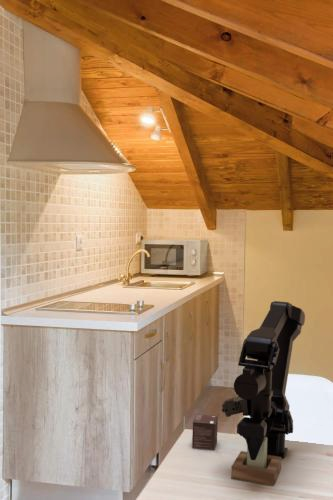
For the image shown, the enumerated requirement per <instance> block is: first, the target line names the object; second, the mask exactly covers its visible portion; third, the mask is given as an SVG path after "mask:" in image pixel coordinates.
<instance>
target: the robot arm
mask: <svg viewBox="0 0 333 500" xmlns="http://www.w3.org/2000/svg"><path fill="white" fill-rule="evenodd" d="M305 319H306V314H305V312H304V310H303V309H302V308H300V307H297V306H295V305H293V304H292V303H290V302H289V301H278V300H277V301H276V300H274V301H271V302H270V306H269V311H267V314H266V316H265V317H264V319H263V321H262V322H261V325H260V327H259V328H256V329H253V330H251V331H250V333H249V334H248V335H247V337H246V338H244V340H243V344H242V346H241V351H240V356H239V359H238V363H237V364H238V367H243V368H242V373H240V374H239V375H237V376H236V378H235V380H234V382H233V389H234V392H235V394H236V395H237V396H234V397H231V398H226V399H225V400H223V402H222V403H221V406H222V409H221V412H222V413H224V414H225V417H226V418H228V417H231V416H234V415H238V414H242V416H244V417H243V418H242V419H240V420H239V422H238V423H237V424H236V434H238V435H239V436H241V437H242V438H244V440H245V442H246V445H247V446H248V450H249V455H250V459H251V460H256V457H257V455H258V453H259V450H260V448H261V446H262V443H263V441H264V439H265V437H267V455H271V456H277V457H281V459H285V458H286V455H287V453H288V447H286V435H289V434H293V433H294V420H293V417H292V412H291V411H290V403H289V401H288V399H287V395H286V390H287V385H288V384H287V383H288V377H289V373H290V372H289V371H290V365H291V357H292V351H293V344H294V341H295V340H296V339H297V338H298V336H299V335H301V333H302V327H303V326H304V325H305V321H306V320H305Z"/></svg>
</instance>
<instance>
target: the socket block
mask: <svg viewBox="0 0 333 500" xmlns="http://www.w3.org/2000/svg"><path fill="white" fill-rule="evenodd" d="M281 470H282V458H281V457H277V456H271V455H267V466H266V468H261V467H254V466H248V465H247V451H244V450H240V452H239V454H238V455H237V456H236V458H235V460H234V462H233V463H232V465H231V471H230V473H231V474H230V479H231V480H237V481H242V482H246V483H247V482H248V483H252V484H260V485H266V486H271V487H274V486H275V485H276V481H277V480H278V477H279V475H280V472H281Z"/></svg>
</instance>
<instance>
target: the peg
mask: <svg viewBox="0 0 333 500" xmlns="http://www.w3.org/2000/svg"><path fill="white" fill-rule="evenodd" d="M246 450H247V451H246V452H247V465H248V466H254V467H261V468H266V466H267V437H265V439H264V441H263V443H262V446H261V448H260V450H259V453H258V455H257V457H256V460H251V459H250V455H249V450H248V446H247V447H246Z"/></svg>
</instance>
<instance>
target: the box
mask: <svg viewBox="0 0 333 500" xmlns="http://www.w3.org/2000/svg"><path fill="white" fill-rule="evenodd" d="M218 418H219V416H217V415H210V414H209V415H208V414H199V413H196V414H195V416H194V418H193V421H192V440H191V448H192V449H195V448H198V449H197V450H206V449H207V451H208V450H209V451H215V449H216V446H217V443H218V422H219V421H218Z"/></svg>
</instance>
